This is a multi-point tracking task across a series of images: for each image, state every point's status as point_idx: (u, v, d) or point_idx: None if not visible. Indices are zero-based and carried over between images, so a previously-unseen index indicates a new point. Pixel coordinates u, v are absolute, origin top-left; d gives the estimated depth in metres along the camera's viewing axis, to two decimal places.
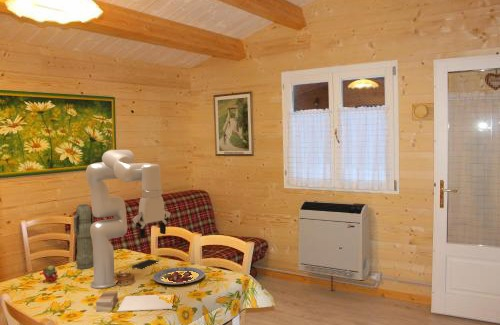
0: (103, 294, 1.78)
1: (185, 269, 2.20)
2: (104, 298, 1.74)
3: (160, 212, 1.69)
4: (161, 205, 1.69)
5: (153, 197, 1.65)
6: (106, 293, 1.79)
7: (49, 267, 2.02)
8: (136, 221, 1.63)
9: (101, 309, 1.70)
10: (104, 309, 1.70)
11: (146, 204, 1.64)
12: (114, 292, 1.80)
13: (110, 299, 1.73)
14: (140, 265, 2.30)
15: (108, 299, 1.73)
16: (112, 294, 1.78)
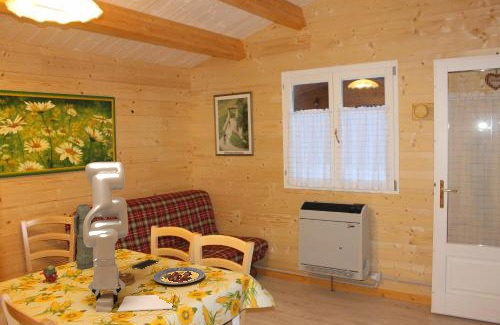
0: (103, 294, 1.78)
1: (185, 269, 2.20)
2: (104, 298, 1.74)
3: None
4: None
5: None
6: (106, 293, 1.79)
7: (49, 267, 2.02)
8: None
9: (100, 309, 1.70)
10: (104, 308, 1.70)
11: None
12: None
13: (110, 299, 1.72)
14: (140, 265, 2.30)
15: (108, 298, 1.73)
16: (112, 294, 1.78)
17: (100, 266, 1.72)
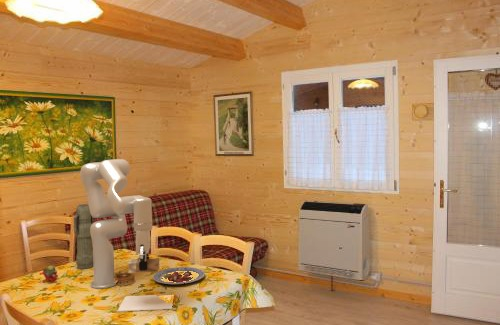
0: (150, 259, 1.79)
1: (185, 269, 2.20)
2: (138, 260, 1.77)
3: None
4: None
5: (151, 228, 1.75)
6: (152, 259, 1.78)
7: (49, 267, 2.02)
8: (143, 256, 1.70)
9: None
10: None
11: (146, 236, 1.72)
12: (153, 261, 1.75)
13: (134, 262, 1.74)
14: None
15: (136, 262, 1.75)
16: (149, 261, 1.75)
17: None
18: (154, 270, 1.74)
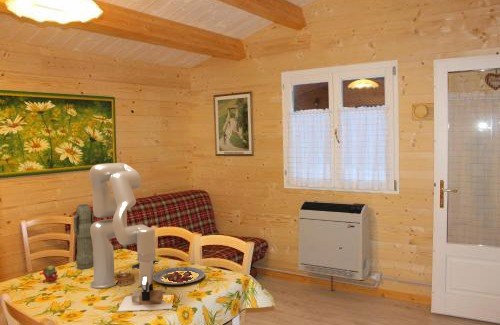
0: (153, 290, 1.80)
1: (185, 269, 2.20)
2: None
3: (153, 272, 1.80)
4: None
5: (154, 259, 1.76)
6: (156, 291, 1.79)
7: (49, 267, 2.02)
8: (145, 286, 1.70)
9: None
10: None
11: (149, 267, 1.73)
12: (156, 294, 1.76)
13: (137, 295, 1.75)
14: None
15: (139, 294, 1.76)
16: (152, 294, 1.76)
17: None
18: (157, 303, 1.75)
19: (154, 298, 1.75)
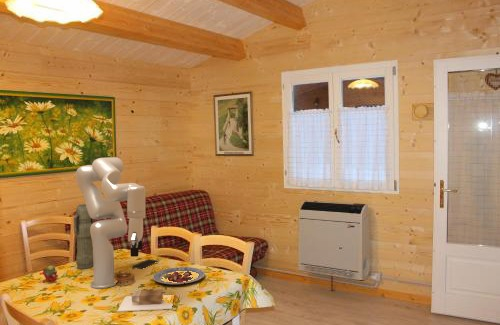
0: (153, 290, 1.80)
1: (185, 269, 2.20)
2: (142, 292, 1.78)
3: (142, 229, 1.81)
4: None
5: (144, 216, 1.77)
6: (156, 291, 1.79)
7: (49, 267, 2.02)
8: (134, 241, 1.71)
9: None
10: None
11: (139, 224, 1.75)
12: (156, 294, 1.76)
13: (137, 295, 1.75)
14: (140, 265, 2.30)
15: (139, 294, 1.76)
16: (152, 294, 1.76)
17: None
18: (157, 303, 1.75)
19: (154, 298, 1.75)
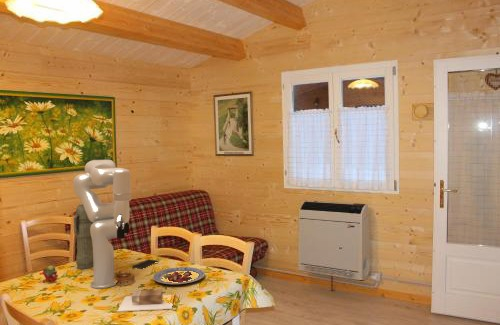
0: (153, 290, 1.80)
1: (185, 269, 2.20)
2: (142, 292, 1.78)
3: (129, 213, 1.84)
4: None
5: (129, 199, 1.80)
6: (156, 291, 1.79)
7: (49, 267, 2.02)
8: (120, 223, 1.74)
9: None
10: None
11: (125, 206, 1.78)
12: (156, 294, 1.76)
13: (137, 295, 1.75)
14: (140, 265, 2.30)
15: (139, 294, 1.76)
16: (152, 294, 1.76)
17: None
18: (157, 303, 1.75)
19: (154, 298, 1.75)
